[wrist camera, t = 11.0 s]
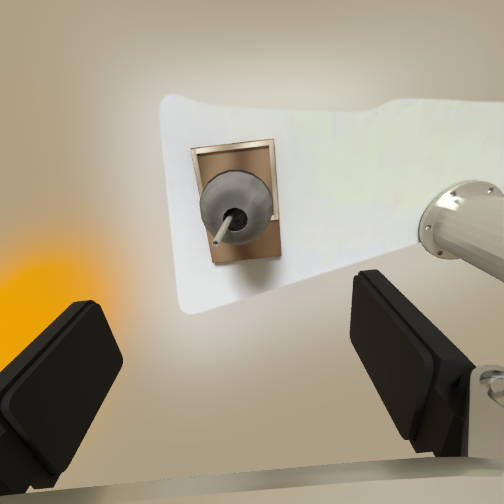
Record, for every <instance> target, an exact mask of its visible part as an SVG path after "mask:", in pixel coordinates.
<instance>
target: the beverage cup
mask: <svg viewBox="0 0 504 504" xmlns="http://www.w3.org/2000/svg"><path fill="white" fill-rule="evenodd" d="M200 211H201V218H202V221H203V223H204V225H205V227H206V229H207V230H208V231H209V232H210V233H211V234H212V236H213V237H215V238H214V240H213V242H212V245H213V246H215V247H217V246H219V244H220V242H224V243H227V244H231V245H243V244H246V243H249V242H252V241H254V240H255V239H256V238H258V237H259V236H261V235H262V234H263V232H264V231H265V230H266V228H267V227H268V225H269V223H270V220H271V217H272V214H273V199H272V196H271V193H270V190H269V188H268V187H267V186H266V184H265V183H264V181H263V180H262V179H260V178H259V177H257V176H256V175H255V174H253V173H251V172H247V171H244V170H227V171H224V172H222V173H219V174H217V175H216V176H214V177H213V178H212V179H211V180H210V181H208V183H207V184H206V186H205V188H204V189H203V191H202V194H201V199H200Z"/></svg>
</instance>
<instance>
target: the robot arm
mask: <svg viewBox="0 0 504 504" xmlns="http://www.w3.org/2000/svg"><path fill="white" fill-rule="evenodd" d="M419 236H420V241H421V243H422V245H423V247H424V248H425V249H426V250H427V251H428V252H429V253H431V254H432V255H434V256H436V257H438V258H442V259H459V258H461V259H462V260H464V261H466V262H468V263H470V264H472V265H473V266H475V267H477V268H479V269H481V270H483V271H484V272H486V273H488V274H490V275H491V276H493V277H495V278H497V279H499V280H501V281H502V282H504V194H503V193H502V191H501V190H500V189H499V188H498V187H497V186H496V185H493V184H491V183H489V182H484V181H477V180H472V181H465V182H461V183H458V184H456V185H453V186H451V187H449V188H448V189H446V190H445V191H443V192H442V193H441V194H439V195H438V196H437V197H436V198H435V199H434V200H433V201H432V202H431V204H430V205H429V206H428V208H427V209H426V211H425V212H424V215H423V217H422V219H421V223H420V227H419ZM350 339H351V342H352V344H353V346H354V348H355V350H356V352H357V354H358V356H359V358H360V359H361V361H362V363H363V365H364V367H365V369H366V371H367V373H368V375H369V377H370V378H371V380H372V382H373V384H374V386H375V388H376V390H377V392H378V393H379V395H380V397H381V399H382V401H383V403H384V405H385V407H386V409H387V411H388V412H389V414H390V416H391V418H392V420H393V422H394V424H395V426H396V428H397V429H398V431H399V433H400V435H401V436H402V437H403V439H405V440H409V441H410V443H411V445H412V446H413V448H414V450H415V452H416V453H423V452H433V454H434V455H435V457H426V458H411V459H398V460H397V459H396V460H383V461H367V462H353V463H342V464H331V465H320V466H308V467H297V468H286V469H274V470H263V471H252V472H241V473H230V474H220V475H209V476H198V477H188V478H177V479H167V480H156V481H146V482H135V483H125V484H115V485H106V486H95V487H86V488H85V487H84V488H75V489H65V490H55V491H45V492H36V493H26V491H27V489H28V488H29V486H30V485H31V486H32V487H33V488H34V489H43V488H52V487H54V485H55V483H56V482H57V480H58V478H59V476H60V474H61V473H62V472H64V471H65V470H66V469H67V468H68V466H69V464H70V462H71V461H72V459H73V457H74V455H75V453H76V451H77V449H78V447H79V446H80V444H81V442H82V440H83V438H84V436H85V434H86V433H87V431H88V429H89V427H90V425H91V423H92V421H93V420H94V418H95V416H96V414H97V412H98V410H99V408H100V406H101V405H102V403H103V401H104V399H105V397H106V395H107V393H108V392H109V390H110V388H111V386H112V384H113V382H114V380H115V379H116V377H117V375H118V373H119V371H120V369H121V367H122V364H123V357H122V354H121V352H120V350H119V347H118V345H117V343H116V341H115V338H114V336H113V334H112V331H111V329H110V327H109V325H108V322H107V320H106V318H105V315H104V313H103V311H102V308H101V306H100V305H99V304H97V303H96V302H94V301H92V300H87V301H78V302H74V303H72V304H71V305H70V306H69V307H68V308H67V309H66V310H65V311H64V312H63V313H62V314H61V315H60V316H59V317H57V318H56V320H54V321H53V322H52V323H51V324H50V325H49V326H48V327H47V328H46V329H45V330H44V331H43V332H42V333H41V334H40V335H39V336H38V337H37V338H36V339H35V340H34V341H33V342H31V343H30V344H29V345H28V346H27V347H26V348H25V349H24V350H23V351H22V352H21V353H20V354H19V355H18V356H17V357H16V358H15V359H14V360H13V361H11V363H9V364H8V365H7V366H6V367H5V368H4V369H3V370H2V371H1V372H0V504H504V367H502V366H497V365H483V366H478V367H476V366H475V365H474V364H473V363H472V362H471V361H470V360H469V359H468V358H467V357H466V356H465V355H464V354H463V353H462V352H461V351H460V350H459V349H458V348H457V347H456V346H455V345H454V344H453V343H452V342H451V341H450V340H449V339H448V338H447V337H446V336H445V335H444V334H443V333H442V332H441V331H440V330H439V329H438V328H437V327H436V326H435V325H434V324H432V322H431V321H430V320H429V319H427V318H426V317H425V316H424V315H423V314H422V313H421V312H420V311H419V310H418V309H417V308H416V307H415V306H414V305H413V304H412V303H411V302H410V301H409V300H408V299H407V298H406V297H405V296H404V295H403V294H402V293H401V292H400V291H399V290H398V289H397V288H396V287H395V286H394V285H393V284H392V283H391V282H390V281H388V279H387V278H385V276H384V275H382V274H381V273H380V272H379V271H378V270H366V271H360V272H359V273H358V275H357V276H354V279H353V293H352V307H351V321H350Z"/></svg>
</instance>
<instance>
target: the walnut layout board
mask: <svg viewBox="0 0 504 504" xmlns="http://www.w3.org/2000/svg"><path fill="white" fill-rule="evenodd" d="M191 154H192V159H193V164H194V169H195V174H196V180H197V185H198V190H199V195H200V199H201V194H202V191H203V189H204V188H205V186H206V184H207V183H208V181H210V180H211V179H212V178H213V177H214V176H216V175H217V174H219V173H222V172H224V171H227V170H244V171H247V172H251V173H253V174H255V175H256V176H257V177H259V178H260V179H262V180H263V181H264V183H265V184H266V186H267V187H268V188H269V190H270V193H271V196H272V199H273V214H272V217H271V220H270V223H269V225H268V227H267V228H266V230H265V231H264V232H263V234H262V235H261V236H259V237H258V238H256V239H255V240H254V241H252V242H249V243H246V244H243V245H231V244H227V243H224V242H220V244H219V246H217V247H215V246H213V245H212V242H213V240H214V238H215V237H213V236H212V234H211V233H210V232H209V231H208V230H207V229H206V231H207V236H208V242H209V247H210V252H211V257H212V262H213V263H219V262H228V261H236V260H245V259H254V258H263V257H272V256H281V242H280V227H279V211H278V196H277V180H276V165H275V149H274V139H266V140H257V141H249V142H240V143H232V144H223V145H215V146H206V147H198V148H191Z"/></svg>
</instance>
